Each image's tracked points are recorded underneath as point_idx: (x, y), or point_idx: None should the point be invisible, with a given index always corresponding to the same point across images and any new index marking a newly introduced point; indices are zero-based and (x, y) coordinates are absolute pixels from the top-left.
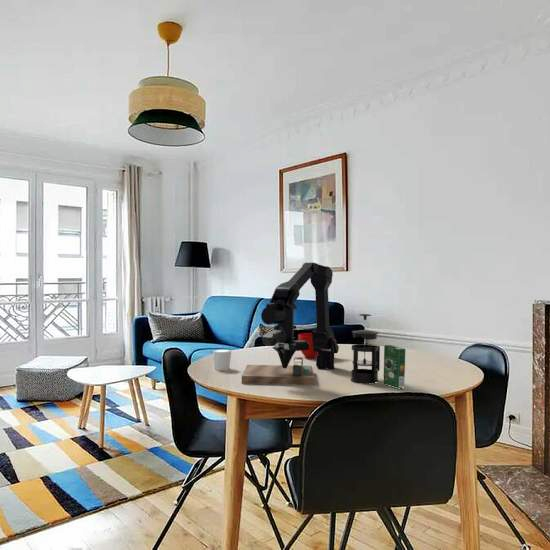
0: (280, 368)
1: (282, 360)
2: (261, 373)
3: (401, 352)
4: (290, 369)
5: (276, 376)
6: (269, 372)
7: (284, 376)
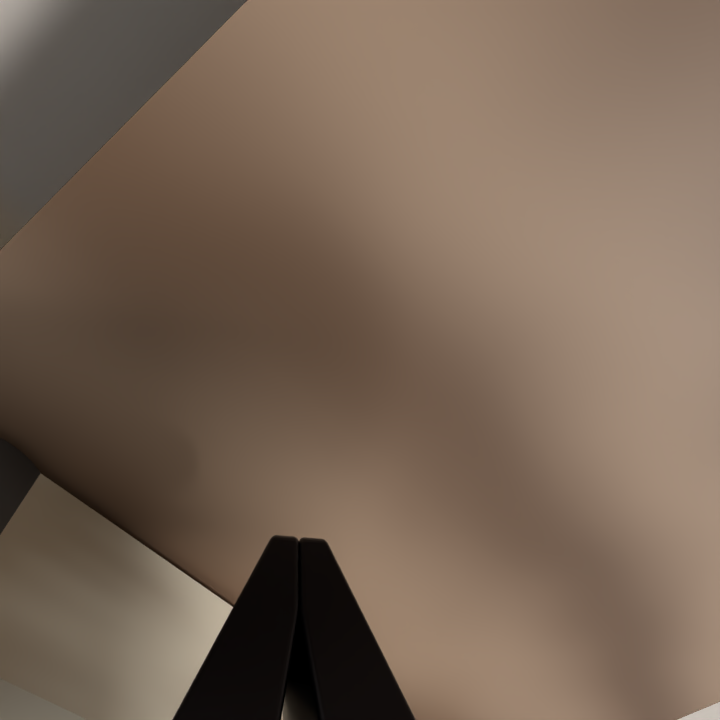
0: (572, 636)
1: (313, 712)
2: (676, 138)
3: None
4: (415, 672)
5: (156, 121)
6: (567, 343)
7: (43, 267)
